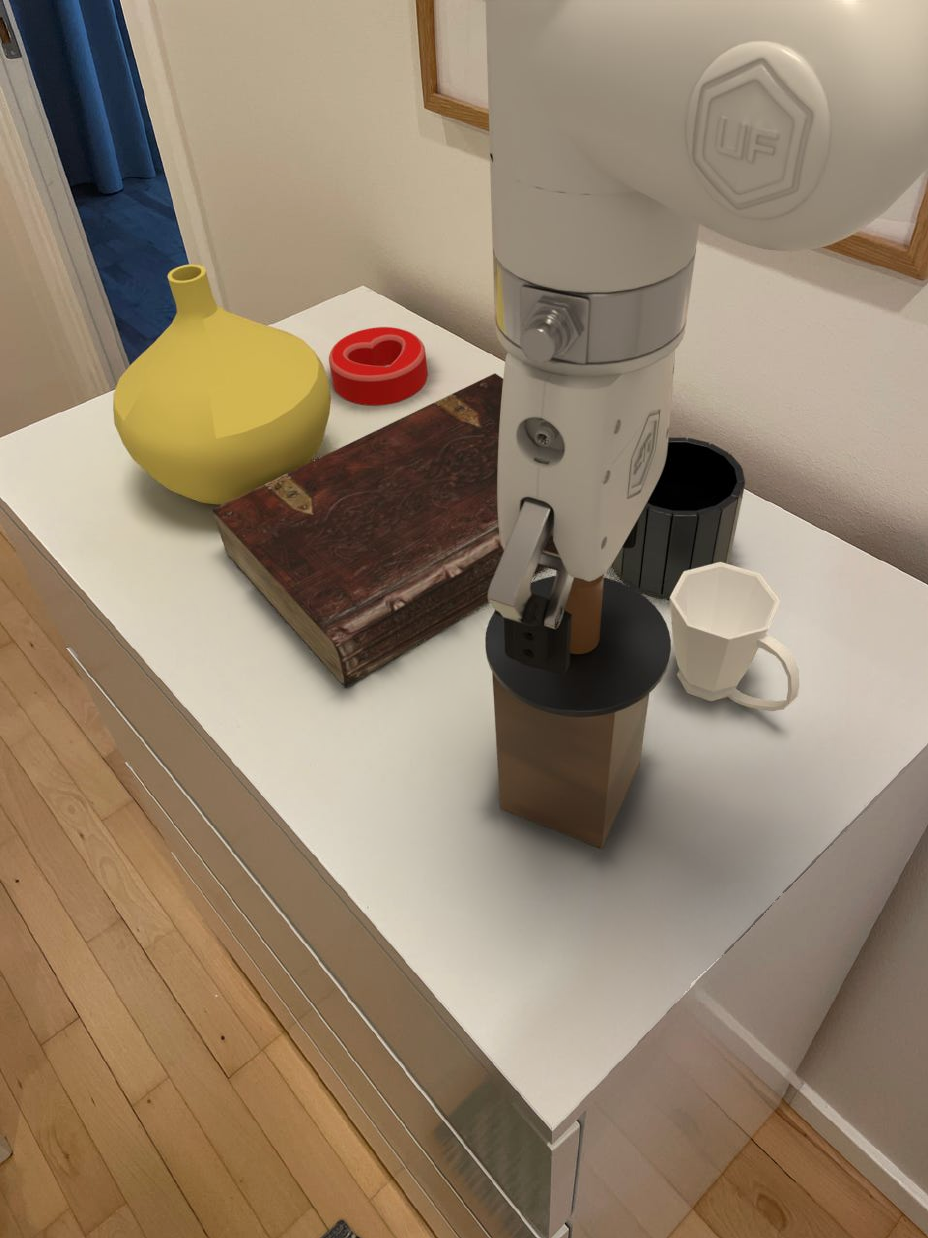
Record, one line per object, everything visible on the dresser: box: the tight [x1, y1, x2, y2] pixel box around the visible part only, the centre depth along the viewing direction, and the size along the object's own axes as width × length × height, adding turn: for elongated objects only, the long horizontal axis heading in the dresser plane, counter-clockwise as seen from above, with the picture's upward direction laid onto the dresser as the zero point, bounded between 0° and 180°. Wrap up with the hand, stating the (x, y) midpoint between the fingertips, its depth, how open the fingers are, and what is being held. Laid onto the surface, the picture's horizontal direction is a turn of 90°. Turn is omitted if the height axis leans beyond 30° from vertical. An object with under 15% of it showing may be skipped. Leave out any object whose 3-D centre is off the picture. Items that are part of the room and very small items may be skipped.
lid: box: [484, 570, 672, 717], centre depth 49 cm, size 10×10×6 cm
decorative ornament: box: [328, 326, 429, 406], centre depth 95 cm, size 10×10×3 cm
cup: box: [669, 562, 800, 712], centre depth 63 cm, size 7×10×8 cm
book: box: [211, 372, 559, 688], centre depth 77 cm, size 29×19×5 cm, turn 127°
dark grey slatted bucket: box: [611, 436, 746, 600], centre depth 72 cm, size 9×9×8 cm
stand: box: [491, 671, 650, 849], centre depth 57 cm, size 7×7×14 cm
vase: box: [112, 263, 332, 506], centre depth 80 cm, size 18×18×19 cm
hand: (574, 597), depth 49 cm, fingers open, 9 cm apart
